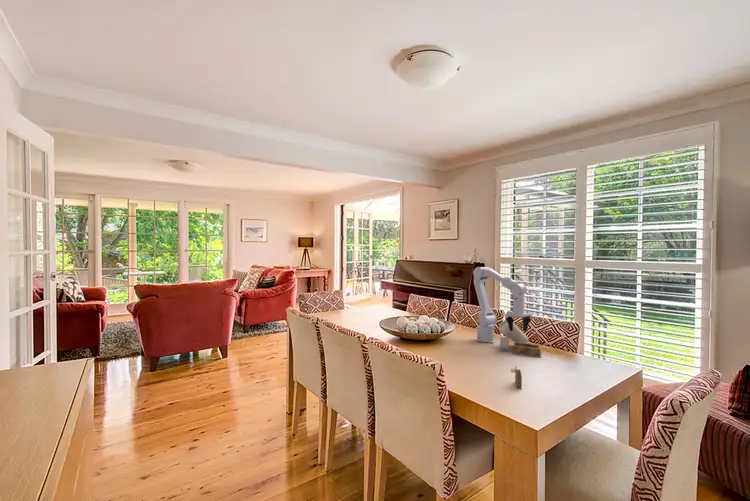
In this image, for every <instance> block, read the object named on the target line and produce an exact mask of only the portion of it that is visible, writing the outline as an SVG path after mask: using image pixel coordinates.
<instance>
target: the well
mask: <svg viewBox="0 0 750 501" xmlns="http://www.w3.org/2000/svg"><path fill="white" fill-rule="evenodd" d="M513 342H514V341H513ZM512 350H513V352H514V353H522V354H529V355H537V356H540V351H541V345H540V344H536V343H535V344H534V343H528V342H527V343H519V342H514V343H513V348H512Z"/></svg>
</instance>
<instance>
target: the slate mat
mask: <svg viewBox="0 0 750 501" xmlns="http://www.w3.org/2000/svg"><path fill="white" fill-rule="evenodd" d="M511 354H513V355H520V356H527V357H536V358H542V351H541V350H540V356H537V355H529V354H522V353H514V352H513V349H512V350H511Z"/></svg>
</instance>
